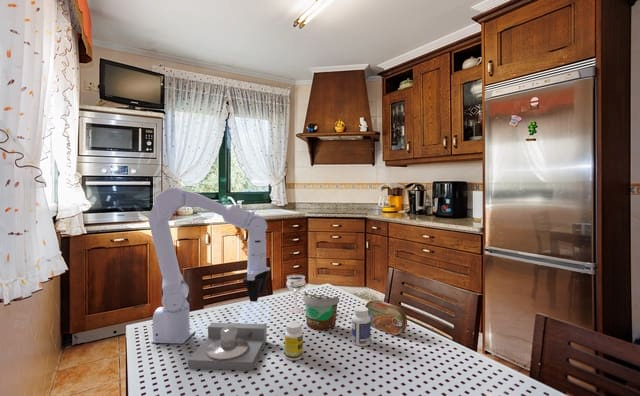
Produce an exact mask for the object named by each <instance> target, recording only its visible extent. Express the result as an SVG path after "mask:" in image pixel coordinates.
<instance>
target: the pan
mask: <svg viewBox="0 0 640 396" xmlns="http://www.w3.org/2000/svg"><path fill="white" fill-rule="evenodd" d="M247 351H248V342H247V341H245V340H244V339H240V338H237V347H236V348H235V349H233V350H229V351H225V350H222V349H221V339H220V340H217V341H215V342H213V343H211V344H210V345H209V346H208V347H207V356H208V357H209V358H211V359H214V360H231V359H235V358H238V357H240V356H242V355H244V354H245V353H246V352H247Z"/></svg>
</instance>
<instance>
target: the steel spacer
mask: <svg viewBox="0 0 640 396" xmlns="http://www.w3.org/2000/svg"><path fill="white" fill-rule="evenodd" d="M236 347H237V328H236V327H233V326H229V327H224V328H222V329H221V349H222V350H225V351H229V350H233V349H235V348H236Z"/></svg>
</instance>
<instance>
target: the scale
mask: <svg viewBox="0 0 640 396" xmlns="http://www.w3.org/2000/svg"><path fill="white" fill-rule="evenodd" d="M267 325H268V324H267V323H264V324H263V323H239V322H238V323H236V322H235V323H234V322H211V323H210V324H209V325H208V327H207V338H206V339H205V340H204V342H202V344H201V345H200V346H199V347H198V348H197V349H196V350H195V352H194V353H193V354H191V356H190V357H189V358H188V359H187V368H188V369H203V370H204V369H208V370H229V371H231V370H232V371H253V370H254V368H255V366H256V364H257V361H258V360H259V358H260V356H261V354H262V352H263V349H264V347H265V346H266V343H267V341H268V339H267V338H268V337H267V334H268V333H267V331H268V330H267V327H268V326H267ZM229 326H233V327H236V328H237V338H240V339H244V340H245V341H247V342H248V351H247V352H246V353H245V354H244V355H242V356H240V357H238V358H235V359H231V360H214V359H211V358H209V357H208V356H207V347H208V346H209V345H210V344H211V343H213V342H215V341H217V340H220V339H221V329H222V328H224V327H229Z"/></svg>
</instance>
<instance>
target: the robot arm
mask: <svg viewBox="0 0 640 396" xmlns="http://www.w3.org/2000/svg"><path fill="white" fill-rule="evenodd" d="M182 207H185V208H189V207H198V208H200V209H204V210H206V211H208V212H211V213H214V214H216V215H219V216H222V220H223V221H224V222H225V223H227V224H229V225H232V226H234V227H237V228H239V229H242V230H248V231H247V234H248V236H247V237H248V238H247V268H246V272H247V274H246V277H244V278H243V279H242V283H243V284H244V286H245V287H246V290H247V294H248V299H249V302H253V303H255V302H256V303H257V302H258V299H259V294H264V292H265V288H266V287H265V286H266V283H267V279H268V276H269V275H270V274H269V273H270V270H271V267H269V266H267V238H266V236H267V234H266V232H267V229H268V227H269V226H268V223H267V220H266V219H265V218H264V217H263V216H261V215H260V214H258V213H256V212H255V211H253V210H251V211H249V210H247V209H245V208H242V207H241V205H240V204H238V203H237V204H236V205H235V204H233V203H231V204H230V205H227V206H226V205H223V204H221V203H219V202H217V201H215V200H213V199H211V198H210V197H209V198H208V197H207V196H205V195H202V194H200V193H198V192H194V191H191V190H187V189H182V188H181V187H173V186H172V187H170V186H169V187H167V188H164V189H163V190H161V191H160V193H159V194H158V195H157V196H156V197H155V200H154V203H153V205H152V207H151V208H152V209H151V211H150V213H149V215H148V224H149V227H150V228H149V229H150V234H151V236H152V240H153V245H154V248H155V253H156V257H157V261H158V265H159V269H160V274H161V279H162V282H161V283H162V284H161V290H162V296H161V305H162V306H159V307H157V308H156V309H155V311H154V312H153V314H152V315H153V316H152V339H151V341H150V342H151V343H152V344H153V343H154V344H155V343H156V344H158V343H159V344H180V345H182V344H185V342H186V341H187V340H188V339H190V337H191V336H193V334H194V333H196V329H190V303H189V302H188V301H187V298H188V295H189V293H190V289H189V288H190V286H189V285H188V283H186V282H185V280H184V277H183V275H182V273H181V269H180V266H179V262H178V257H177V254H176V249H175V245H174V241H173V240H174V239H173V236H172V232H171V228H170V227H171V226H170V223H169V220H171V219H172V216H173V215H174V214H175V212H176V211H178V210H179V209H181V208H182Z"/></svg>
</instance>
